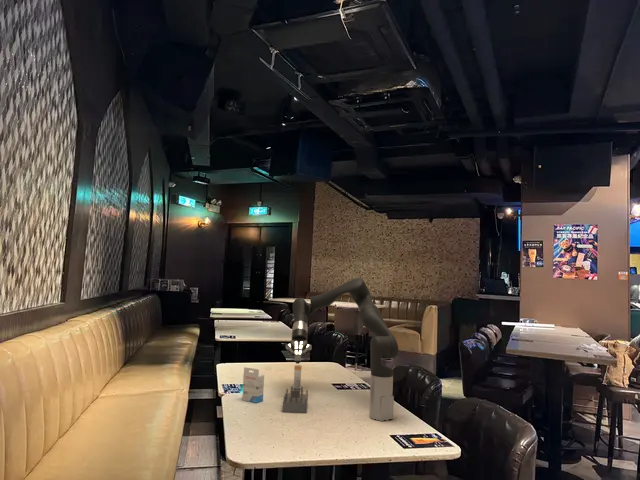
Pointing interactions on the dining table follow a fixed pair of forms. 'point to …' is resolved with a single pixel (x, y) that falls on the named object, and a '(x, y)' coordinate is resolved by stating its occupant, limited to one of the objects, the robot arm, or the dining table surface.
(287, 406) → the heat sink
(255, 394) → the ink box
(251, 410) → the dining table surface
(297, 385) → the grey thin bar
